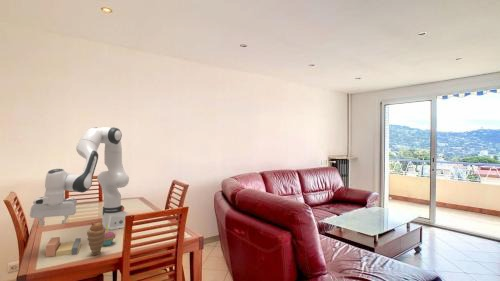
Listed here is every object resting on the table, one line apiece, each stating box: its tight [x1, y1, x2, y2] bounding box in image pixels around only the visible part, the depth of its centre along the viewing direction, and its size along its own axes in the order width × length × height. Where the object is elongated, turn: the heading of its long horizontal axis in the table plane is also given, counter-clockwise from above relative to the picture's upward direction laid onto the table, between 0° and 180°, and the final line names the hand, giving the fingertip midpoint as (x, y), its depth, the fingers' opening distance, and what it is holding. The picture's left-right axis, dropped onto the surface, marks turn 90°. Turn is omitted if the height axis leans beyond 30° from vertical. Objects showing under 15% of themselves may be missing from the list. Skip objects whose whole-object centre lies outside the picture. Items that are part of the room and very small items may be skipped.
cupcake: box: [103, 224, 117, 247], centre depth 158 cm, size 9×8×12 cm
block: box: [45, 236, 61, 258], centre depth 144 cm, size 4×12×6 cm, turn 26°
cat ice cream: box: [86, 220, 106, 256], centre depth 144 cm, size 9×8×18 cm
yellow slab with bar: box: [55, 237, 82, 257], centre depth 148 cm, size 10×15×4 cm
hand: (53, 224), depth 144 cm, fingers open, 8 cm apart
